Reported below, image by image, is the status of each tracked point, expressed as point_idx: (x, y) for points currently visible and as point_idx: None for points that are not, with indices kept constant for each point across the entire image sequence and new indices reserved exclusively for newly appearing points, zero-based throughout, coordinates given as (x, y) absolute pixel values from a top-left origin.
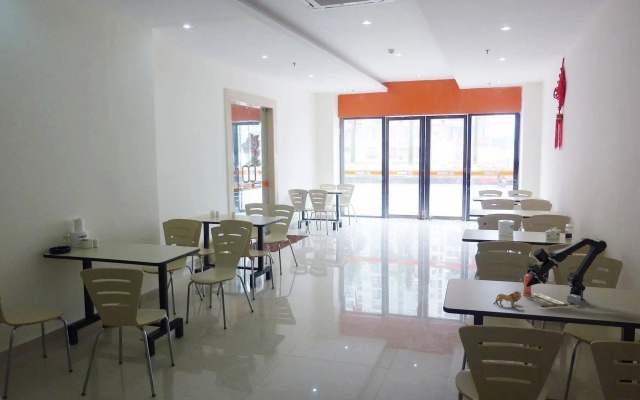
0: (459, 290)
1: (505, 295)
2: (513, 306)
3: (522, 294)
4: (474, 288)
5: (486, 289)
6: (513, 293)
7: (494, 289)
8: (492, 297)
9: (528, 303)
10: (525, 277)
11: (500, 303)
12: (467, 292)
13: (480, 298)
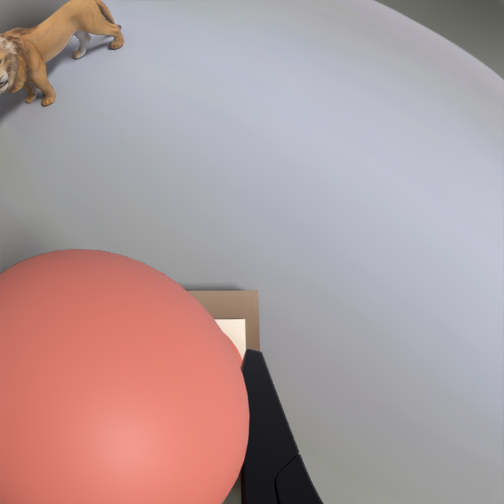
0: (412, 34)
1: (50, 16)
2: (28, 93)
3: (232, 338)
4: (474, 113)
5: (472, 163)
6: (3, 34)
7: (483, 221)
8: (260, 72)
9: (30, 241)
10: (56, 253)
11: (83, 40)
12: (380, 35)
13: (250, 21)
